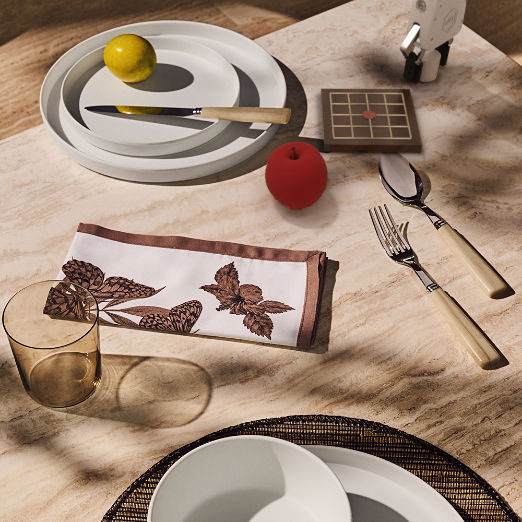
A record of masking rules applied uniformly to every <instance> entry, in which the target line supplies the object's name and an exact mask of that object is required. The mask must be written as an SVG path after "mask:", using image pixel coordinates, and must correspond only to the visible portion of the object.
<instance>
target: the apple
mask: <svg viewBox="0 0 522 522" xmlns="http://www.w3.org/2000/svg"><path fill="white" fill-rule="evenodd" d="M328 173H329V172H328V166H327V163H326V161H325V159H324V157H323V155H322V153H321V152H320V151H319V149H318V148H316V146H314V145H312V144H311V143H309V142H304V141H291V142H287V143H283V144H281V145H279V146H278V147H276V148H274V149H273V151H272V152H271V154H270V155H269V157H268V159H267V162H266V165H265V171H264V181H265V185H266V188H267V190H268V192H269V193H270V195H271V196H272V197H273V198H274V199H275V200H276V201H277V202H278V203H279V204H280V205H282V206H283V207H285V208H288V209H290V210H294V211H300V210H304V209H309V208H310V207H312V206H313V205H315V204H316V203H317V202H318V201H319V200H320V198H322V196H323V195H324V193H325V191H326V189H327V186H328V180H329V174H328Z"/></svg>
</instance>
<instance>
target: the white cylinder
mask: <svg viewBox="0 0 522 522" xmlns="http://www.w3.org/2000/svg"><path fill="white" fill-rule="evenodd" d="M420 49H421V48H418V49H417V50H416V51H414V52H415V53H416V55H418V53H419V50H420ZM440 58H441V54H440V53H439V52H438V51H437V50H434V49H433V50H431V51H426V52H425V54H424V56H423V59H422V61H421V62H422V63H423V67H422V73H421V78H420V82H423V83H429V82H432V81H435V80H436V79H437V76H438V72H439V67H440V65H439V63H440Z"/></svg>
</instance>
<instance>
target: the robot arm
mask: <svg viewBox="0 0 522 522" xmlns="http://www.w3.org/2000/svg"><path fill="white" fill-rule="evenodd" d="M467 1H468V0H412V4H411V7H410V11H409V17H408V19H407V20H408V21H407V26H406V34H405V35H406V37H405V39H404V40H403V41H402V43H401V44H400V46H399V51H400V52H401V54H402V56H403V58H404V59H405V62H404V68H403V74H402V77H403V78H404V79H405V80H407V81H409V82H411V83H413V84H415V85H419V84H420V82H421V81H420V78H421V73H422V67H423V63H422V62H421V61H422V59H423V56H424V54H425V52H426V51H431V50H433V49H434V50H437V51H438V52H439V53H440V54H441V58H440V63H439V67H442V68H444V67H446V66H447V63H448V59H449V55H450V50H451V45H452V44H453V42H454V37H456V36H457V35H458V34H459V33H460V32H461V30H462V28H463V24H464V19H465V14H466V7H467ZM418 39H419V42H418ZM415 47H416V48H418V50H419V49H420V50H419V53H418V55H416V53H415V52H416V51H414V50H415Z"/></svg>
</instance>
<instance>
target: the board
mask: <svg viewBox="0 0 522 522" xmlns="http://www.w3.org/2000/svg"><path fill="white" fill-rule="evenodd" d="M320 109H321V110H320V111H321V127H322V128H321V129H322V141H323V144H322V145H323V152H324V153H421V152H422V147H423V143H422V139H421V135H420V134H421V133H420V130H419V123H418V119H417V115H416V110H415V106H414V101H413V95H412V92H411V88H320Z"/></svg>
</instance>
